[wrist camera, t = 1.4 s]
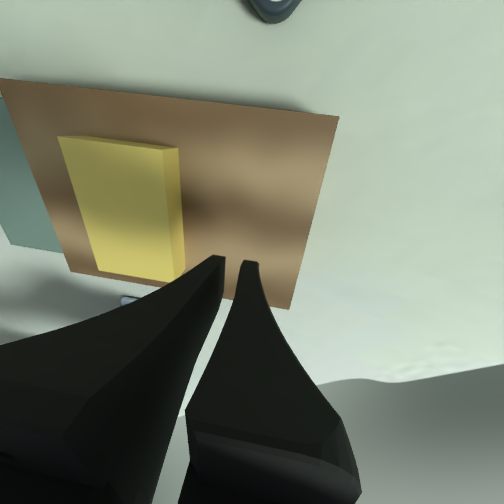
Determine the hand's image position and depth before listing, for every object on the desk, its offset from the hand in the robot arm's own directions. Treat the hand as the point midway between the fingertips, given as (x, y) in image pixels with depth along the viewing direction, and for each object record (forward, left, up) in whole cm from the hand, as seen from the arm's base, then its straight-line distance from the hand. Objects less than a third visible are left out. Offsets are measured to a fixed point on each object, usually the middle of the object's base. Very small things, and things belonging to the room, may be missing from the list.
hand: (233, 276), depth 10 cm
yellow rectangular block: (0, +8, -6) cm, 10 cm away
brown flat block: (0, +6, -10) cm, 12 cm away
